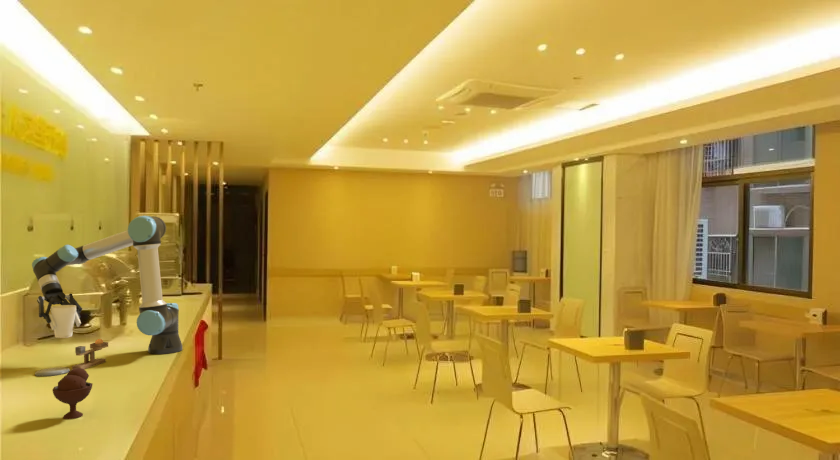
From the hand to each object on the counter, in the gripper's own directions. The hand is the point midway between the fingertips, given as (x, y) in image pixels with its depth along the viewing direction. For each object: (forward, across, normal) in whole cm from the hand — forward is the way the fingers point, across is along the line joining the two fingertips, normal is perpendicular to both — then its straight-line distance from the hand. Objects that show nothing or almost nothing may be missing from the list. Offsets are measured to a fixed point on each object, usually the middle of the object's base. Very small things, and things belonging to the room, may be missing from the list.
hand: (66, 326), depth 257 cm
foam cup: (+1, 0, -6) cm, 6 cm away
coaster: (+18, +10, -5) cm, 21 cm away
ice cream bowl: (+65, +30, +42) cm, 83 cm away
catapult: (+18, -5, -6) cm, 20 cm away
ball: (+10, -11, -1) cm, 15 cm away
